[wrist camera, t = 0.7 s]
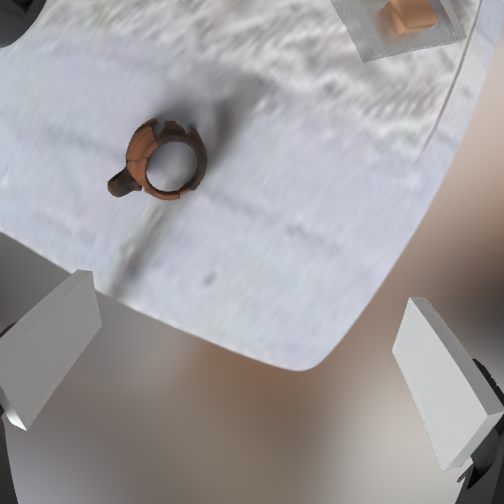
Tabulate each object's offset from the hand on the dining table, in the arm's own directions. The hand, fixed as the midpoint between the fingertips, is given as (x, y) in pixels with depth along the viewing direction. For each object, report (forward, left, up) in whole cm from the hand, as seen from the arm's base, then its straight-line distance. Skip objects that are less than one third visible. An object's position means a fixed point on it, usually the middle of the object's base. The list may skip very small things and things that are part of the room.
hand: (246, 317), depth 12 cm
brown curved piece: (-9, -9, -27) cm, 30 cm away
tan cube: (-14, +25, -24) cm, 37 cm away
